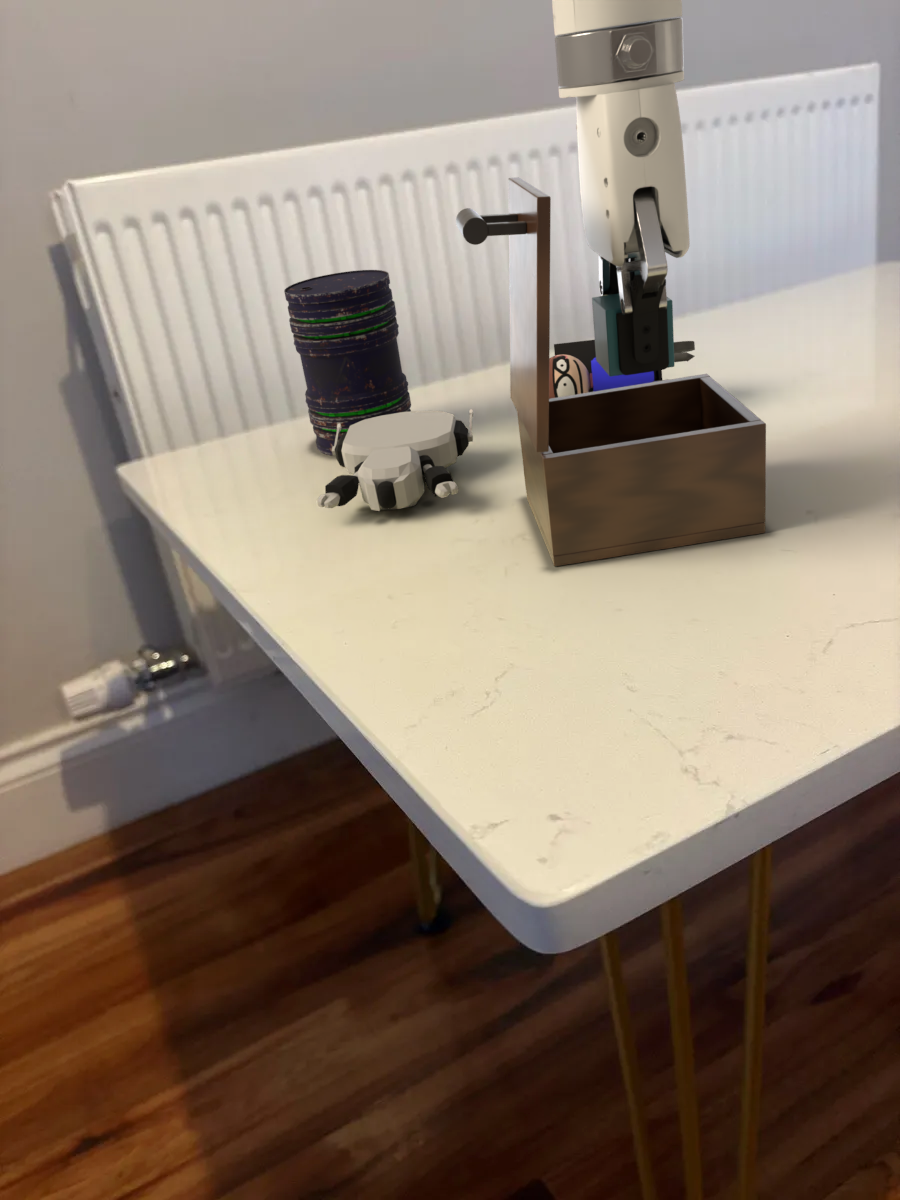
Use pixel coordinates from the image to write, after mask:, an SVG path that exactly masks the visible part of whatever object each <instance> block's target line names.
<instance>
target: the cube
mask: <svg viewBox="0 0 900 1200" xmlns="http://www.w3.org/2000/svg"><path fill="white" fill-rule="evenodd" d="M591 306H592V319H593V321H592V322H593V334H594V335H593V336H594V340H595V351H596V361H597V362H598V363H599V364H600V365H601V367H602V368H603V369H604V370H605V371H606V373H607V374H608V375H609V376H610V377H611V376H618V375H624V374H622V373H621V371H620V369H619V353H618V336H617V319H616V314H617V313H622V312H621V305H620V295H619V293H618V294H612V295H605V296H601V295H600V296H593V297H591ZM673 309H674V308H673V300H672V299H671V298H670V297H668V296H667V319H668V347H669V365H668V367H667V368H666V369H668V368H674V367H675V362H674V342H675V341H674V340H675V337H674V310H673Z"/></svg>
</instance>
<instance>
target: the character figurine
mask: <svg viewBox="0 0 900 1200" xmlns="http://www.w3.org/2000/svg"><path fill="white" fill-rule="evenodd" d="M695 345H696V343H695V341H694V340H681V341H674V363H679V362H680V363H682V362H687V363H688V362H689V361H690V360H692V359H693V358H695V357H696V355H693V354H692V353H690V352H693V351H695V350H696V347H695ZM553 351H554V355H553V356H551V357H549V399H551V398H557V397H563V396H569V395H576V394H582V393H588V392H594V391H601V390H607V389H613V388H619V387H626V386H632V385H638V384H645V383H651V382H657V381H663V380H664V379H663V370H658V371H652V372H645V373H639V374H632V375H618V376H611V377H610V376H609V375H608V374H607V373H606V371H605V370H604V369H603V368H602V367H601V365H600V364H599V363H598V362H597V361H596V351H595V339H588V340H578V341H569V342H561V343H553ZM668 380H670V379H668Z"/></svg>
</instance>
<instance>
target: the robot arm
mask: <svg viewBox="0 0 900 1200" xmlns="http://www.w3.org/2000/svg"><path fill="white" fill-rule="evenodd" d="M551 7H552V21H553V31H554V37H555V38H554V46H555V47H554V48H555V60H556V72H557V85H558V98H559V99H568V98H575V100H576V101H575V103H576V124H575V129H576V134H577V158H578V177H579V191H580V205H581V206H580V207H581V217H582V225H583V226H582V227H583V232H584V238H585V242H586V244H587V246H588V247H589V249H591V250H592V251H593V252H594V253H596V254H597V256H598V289H599V294H600V296H605V295H612V294H618V293H619V295H620V305H621V312H622V313H617V314H616V319H617V336H618V353H619V369H620V371H621V373H622V374H624V375H632V374H639V373H645V372H652V371H658V370H662V371H663V370H666V369H668V368H667V367H668V365H669V347H668V319H667V297H668V296H667V295H668V294H667V279H666V277H667V275H668V272H669V271H668V269H669V268H668V267H669V266H668V261H667V257H666V254H668V255H669V256H671V257H673V258H676V259H680V258H683V257H684V256H685V255H686V254H687V253H688V251H689V249H690V224H689V209H688V196H687V195H688V194H687V193H688V192H687V179H686V166H685V165H686V164H685V151H684V140H683V131H682V123H681V115H680V107H679V101H678V93H677V89H676V83H680V82H683V81H685V70H684V69H685V65H684V64H685V62H684V59H685V58H684V22H683V21H684V19H683V18H682V17H683V0H551Z"/></svg>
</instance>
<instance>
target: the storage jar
mask: <svg viewBox="0 0 900 1200" xmlns="http://www.w3.org/2000/svg"><path fill="white" fill-rule="evenodd" d="M389 273H390V272H388V271H386V270H381V269H360V270H349V271H342V272H341V271H340V272H334V273H330V274H325V275H324V274H323V275H320V276H316V277H312V278H311V277H310V278H308V279H304V280H301V281H297V282H296V283H293V284H291V285H289V286H287V287H286V288H285V289H284V291H283V293H284V297H285V300H286V302H287V304H288V306H287V311H288V315H289V319H288V322H289V327H290V329H291V330H290V331H291V333H292V334H293V335H292V337H293V340H294V341H293V346H295V347H294V348H295V351H296V353H298V354H299V357H300V361H301V367H302V371H303V376H304V381H305V385H306V390H305V393H304V396H305V403H306V406H307V408H308V410H307V412H308V413H307V414H308V418H309V421H310V424H311V425H312V430H313V433H314V435H315V438H316V439H315V445H316V450H318V451H319V452H320V453H322V454H325V455H328V456H333V454H332V446H334V444H335V438H336V433H337V424H339V423H340V424H341V431H340V434H339V439H340V438H341V436H342V434H343V433H345V432H348V429H349V427H350V426H351V425H353V424H355V423H357V422H360V421H362V420H365V419H369V418H373V417H378V416H382V415H388V414H394V413H400V412H412V410H411V407H412V402H411V401H412V400H411V395H410V392H409V387H408V386H409V382H408V380H407V375H406V374H405V373H404V372H403V368H402V362H401V356H400V351H399V343H398V336H399V333H400V332H399V327H400V326H399V324H398V319H397V317H396V316H397V309H396V308H397V307H396V302H395V301H394V300H393V292H392V289H391V288H390V284H391V279H390V274H389ZM338 441H339V440H338Z"/></svg>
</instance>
